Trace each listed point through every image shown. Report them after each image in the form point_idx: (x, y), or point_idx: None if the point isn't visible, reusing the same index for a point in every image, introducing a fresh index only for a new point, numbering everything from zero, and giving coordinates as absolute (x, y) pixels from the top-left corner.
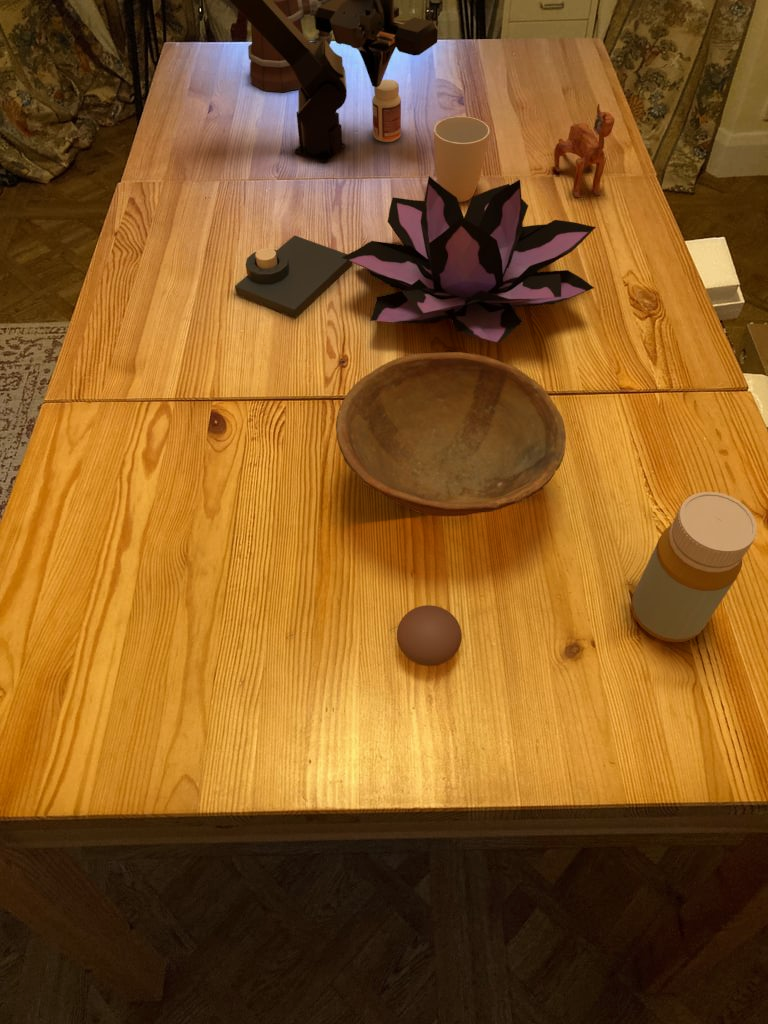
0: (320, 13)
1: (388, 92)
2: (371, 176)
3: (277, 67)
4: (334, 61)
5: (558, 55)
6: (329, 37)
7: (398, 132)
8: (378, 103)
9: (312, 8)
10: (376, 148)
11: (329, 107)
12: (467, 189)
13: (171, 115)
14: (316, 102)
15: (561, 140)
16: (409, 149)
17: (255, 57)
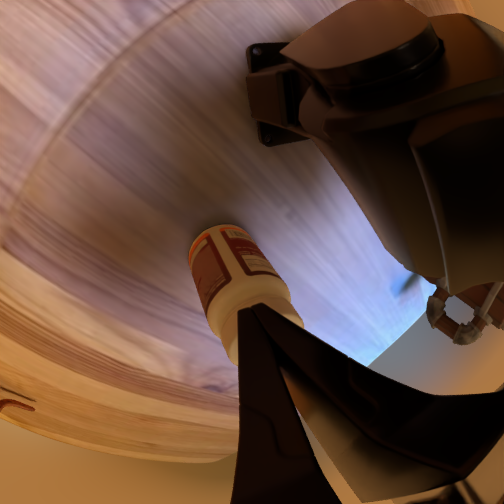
0: None
1: (235, 330)
2: (98, 93)
3: None
4: (495, 223)
5: (212, 451)
6: (433, 322)
7: (191, 272)
8: (250, 282)
9: (474, 330)
10: (197, 198)
11: (326, 41)
12: None
13: None
14: (380, 10)
15: (27, 409)
16: (135, 256)
17: None
